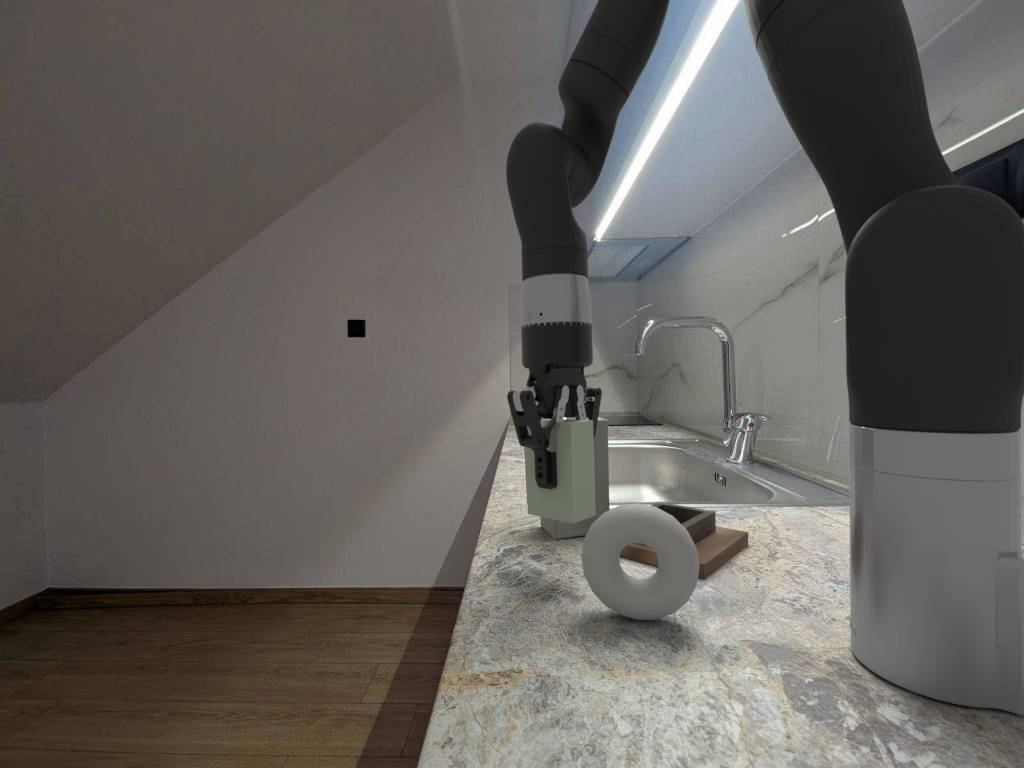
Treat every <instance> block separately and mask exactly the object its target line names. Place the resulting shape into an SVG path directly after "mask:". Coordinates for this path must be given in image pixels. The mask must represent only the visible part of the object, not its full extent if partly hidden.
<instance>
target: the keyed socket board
mask: <svg viewBox="0 0 1024 768" xmlns="http://www.w3.org/2000/svg"><path fill="white" fill-rule="evenodd" d="M649 506H654V507H657V508H659V509H661V510H663V511H664V512H666V513H668V514H670V515H672V516H673V517H674V518H675V519H676V520H677V521H678V522H679V523H680V524H681V525H682V526H683V527H684V528H685V529H686V530H687V531H688V533H689V535H690V537H691V538H692V540H693V542H694V544H695V546H696V548H697V554H698V559H699V565H700V568H699V574H698V578H701V579H706V578H707V577H709V576H710V575H711V574H712V573H714V572H715V571H716V570H718V569H719V568H721V566H722V565H724V564H725V563H727V561H729V560H730V559H731V558H733V557H734V556H735V555H737V554H738V553H739V552H740V551H742V550H743V549H744V548H746V547H747V546H748V545H749V532H748V531H744V530H738V529H735V528H734V529H732V528H728V527H722V526H718V525H716V524H717V523H716V521H717V520H716V517H717V515H716V511H714V510H708V509H704V508H698V507H692V506H686V505H681V504H680V505H679V504H673V503H670V502H669V503H668V502H661V501H658V502H656V503H655V502H654V503H653V504H650V505H649ZM620 557H622V558H626V559H629V560H634V561H637V562H641V563H645V564H649V565H652V566H656V567H658V563H659V562H658V557H657V555H656V553H655V551H654V550H653V549H652V548H651V547H649V546H647V545H645V544H641V543H632V544H629V545H627V546H625V547H624V548H623V549H622V551H621V553H620Z"/></svg>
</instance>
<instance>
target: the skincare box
mask: <svg viewBox="0 0 1024 768" xmlns="http://www.w3.org/2000/svg"><path fill="white" fill-rule="evenodd" d="M587 420H588V418H587ZM609 463H610V461H609V420H608V419H607V418H603V417H600V416H598V422H597V428H596V435H595V438H594V472H595V507H596V515H595V516H592V517H590V518H587V519H584V520H582V521H579V522H577V523H574V524H572V523H568V522H563V521H558V520H553V519H549V518H544V517H540V526H541V527H542V529H544V530H545V531H546V532H547V533H548V534H549V535H550V536H551V537H552V538H553V539H554V540H561V539H569V538H577V537H583V536H584V537H585V536H586V534H587V532H588V531H589V529H590V527H591V525H592V524H593V523H594V522H595V521H596V520H597V519H598V518H599V517H600V516H601V515H602V514H603V513H604V512H606V511H609V510H611V509H610V467H609V466H610V465H609Z"/></svg>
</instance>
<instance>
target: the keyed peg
mask: <svg viewBox="0 0 1024 768" xmlns="http://www.w3.org/2000/svg"><path fill="white" fill-rule="evenodd" d="M550 420H551V419H542V421H550ZM527 430H528V433H529V435H531V431H530V428H529V427H528V426H527ZM542 431H543V435H544V438H545V439H546V437H547V429H542ZM554 452H556V459H557V487H556V488H553V489H545V488H540V487H538V485H537V482H536V479H535V455H534V451H533V450H532V449H530V448H528V447H525V455H526V456H525V458H526V460H525V461H526V492H527V493H526V494H527V496H526V497H527V514H528V515H531V516H534V517H535V516H536V517H538V518H539V517H544V518H549V519H553V520H558V521H563V522H568V523H572V524H574V523H577V522H579V521H582V520H584V519H587V518H590V517H592V516H595V515H596V507H595V472H594V436H593V420H568V419H564V421H563V422H562V423H560V428H559V429H558V430H557V444H556V450H555V451H554Z"/></svg>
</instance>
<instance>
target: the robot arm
mask: <svg viewBox="0 0 1024 768" xmlns="http://www.w3.org/2000/svg"><path fill="white" fill-rule="evenodd" d="M670 3H671V0H597V2H596V5H595V7H594V9H593V10H592V12H591V15H590V17H589V19H588V20H587V23H586V25H585V27H584V29H583V31H582V33H581V35H580V37H579V38H578V41H577V43H576V45H575V47H574V49H573V51H572V53H571V55H570V57H569V60H568V61H567V63H566V65H565V67H564V69H563V72H562V74H561V76H560V79H559V82H558V87H557V89H558V91H557V92H558V95H559V98H560V101H561V103H562V105H563V109H564V115H563V121H562V125H561V126H560V128H559V127H558V126H556V125H554V124H553V123H549V122H546V121H535V122H531V123H529V124H527V125H525V126H524V127H522V129H520V131H519V132H517V134H516V136H515V137H514V139H513V141H512V142H511V144H510V146H509V149H508V153H507V156H506V157H507V159H506V164H505V166H506V167H505V169H506V170H505V173H506V184H507V190H508V196H509V200H510V204H511V208H512V214H513V217H514V221H515V225H516V228H517V232H518V235H519V238H520V243H521V275H522V277H521V279H522V281H521V287H522V288H521V294H520V295H521V296H520V330H521V331H520V333H521V364H522V366H523V367H524V369H528V371H529V373H528V378H527V381H526V386H525V387H524V388H522V389H520V390H509V391H508V392H507V395H506V398H507V403H508V406H509V409H510V410H509V411H510V413H511V417H512V421H513V426H514V429H515V432H516V436H517V437H516V438H517V441H518V444H519V446H521V447H523V448H524V447H525V448H526V447H528V448H530V449H532V450H533V451H534V455H535V479H536V482H537V485H538V487H540V488H545V489H553V488H556V487H557V459H556V452H554V451H555V450H556V444H557V430H558V429H559V428H560V423H562V422H563V421H564V419H568V420H587V418H588V420H593V436H594V438H595V435H596V428H597V422H598V417H599V414H600V409H601V408H600V407H601V401H602V396H603V392H602V389H601V388H600V387H591V386H589V385H588V384H587V379H586V376H585V368H588V367H590V366H592V365H593V363H594V355H593V354H594V353H593V350H594V349H593V323H592V322H593V320H592V316H593V315H592V299H591V293H590V285H589V284H590V283H589V266H588V265H589V262H588V261H589V260H588V259H589V258H588V242H587V236H586V233H585V230H584V229H583V227H582V226H581V224H580V223H579V221H578V220H577V219H576V217H575V215H574V212H573V209H575V208H576V207H578V206H579V205H580V204H582V203H583V202H584V201H585V200H586V199H587V198H588V196H589V195H590V194H591V192H592V191H593V190H594V188H595V185H596V184H597V183H598V180H599V178H600V176H601V173H602V171H603V169H604V165H605V161H606V159H607V156H608V153H609V150H610V146H611V143H612V140H613V138H614V135H615V134H614V133H615V130H616V128H617V123H618V119H619V116H620V113H621V111H622V110H623V109H624V106H625V105H626V103H627V101H628V100H629V98H630V96H631V94H632V92H633V90H634V89H635V87H636V85H637V83H638V81H639V79H640V78H641V76H642V75H643V73H644V71H645V69H646V67H647V65H648V63H649V61H650V59H651V57H652V55H653V53H654V51H655V49H656V47H657V46H656V45H657V44H658V41H659V38H660V35H661V33H662V29H663V27H664V23H665V22H666V21H665V20H666V17H667V13H668V10H669V7H670ZM742 3H743V9H744V13H745V17H746V20H747V21H746V22H747V24H748V28H749V31H750V36H751V38H752V41H753V44H754V47H755V51H756V54H757V55H758V56H757V57H758V58H759V61H760V63H761V66H762V68H763V71H764V73H765V75H766V78H767V80H768V83H769V86H770V88H771V90H772V92H773V94H774V96H775V97H774V98H775V99H776V101H777V103H778V105H779V106H780V109H781V111H782V113H783V115H784V116H785V118H786V120H787V122H788V124H789V126H790V128H791V130H792V131H793V133H794V135H795V137H796V139H797V140H798V142H799V144H800V146H801V148H802V149H803V150H804V152H805V154H806V155H807V158H808V159H809V161H810V162H811V164H812V165H813V167H814V169H815V170H816V172H817V174H818V175H819V177H820V179H821V181H822V183H823V185H824V187H825V189H826V191H827V193H828V197H829V199H830V201H831V204H832V208H833V209H834V214H835V216H836V220H837V223H838V225H839V229H840V233H841V237H842V240H843V244H844V245H843V246H844V248H845V249H844V250H845V252H846V256H847V257H846V262H845V272H844V275H845V276H844V304H845V305H844V307H845V308H844V309H845V311H844V313H845V349H846V350H845V352H846V353H845V355H846V356H845V357H846V359H845V365H846V368H845V369H846V370H845V371H846V372H845V373H846V386H847V387H846V388H847V393H848V394H847V396H848V411H849V414H848V417H849V418H848V420H849V421H848V422H849V423H848V430H849V431H848V432H849V433H848V434H849V435H848V439H849V440H848V441H849V442H848V443H849V445H848V446H849V447H848V448H849V449H848V450H849V460H848V461H849V465H848V467H849V579H850V580H849V581H850V582H849V587H850V588H849V590H850V592H849V593H850V595H849V597H850V601H849V602H850V616H849V628H850V649H851V651H852V653H853V655H854V657H855V658H856V659H857V660H858V662H860V663H861V664H862V665H863V666H865V667H866V668H867V669H868V670H870V671H872V672H873V673H875V674H876V675H878V676H879V677H881V678H883V679H885V680H887V681H888V682H890V683H892V684H894V685H896V686H899V687H901V688H903V689H906V690H908V691H910V692H913V693H915V694H919V695H922V696H925V697H927V698H932V699H934V700H937V701H942V702H946V703H951V704H954V705H960V706H965V707H972V708H980V709H981V708H984V709H985V708H986V709H998V710H1003V711H1006V712H1010V713H1013V714H1017V715H1020V716H1024V555H1023V551H1022V477H1021V476H1022V432H1021V429H1022V404H1023V398H1024V222H1023V220H1022V218H1021V217H1020V215H1019V213H1017V211H1016V210H1015V209H1014V208H1013V207H1012V206H1011V205H1010V204H1009V203H1008V202H1007V201H1005V200H1004V199H1002V197H999V196H997V195H996V194H994V193H992V192H990V191H987V190H984V189H981V188H978V187H973V186H969V185H962V184H961V185H960V184H959V182H958V181H957V179H956V177H955V176H954V174H953V172H952V170H951V169H950V167H949V165H948V162H947V161H946V160H945V158H944V155H943V153H942V151H941V148H940V147H939V144H938V141H937V139H936V136H935V134H934V130H933V126H932V122H931V118H930V112H929V106H928V100H927V95H926V89H925V82H924V79H923V78H924V77H923V72H922V68H921V63H920V58H919V55H918V50H917V49H918V48H917V45H916V41H915V37H914V33H913V30H912V27H911V23H910V20H909V16H908V13H907V10H906V8H905V4H904V2H903V0H742ZM542 419H551V420H550V421H542ZM527 426H528V427H529V428H530V431H531V435H529V433H528V430H527ZM542 429H547V437H546V439H545V438H544V435H543V431H542Z"/></svg>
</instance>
